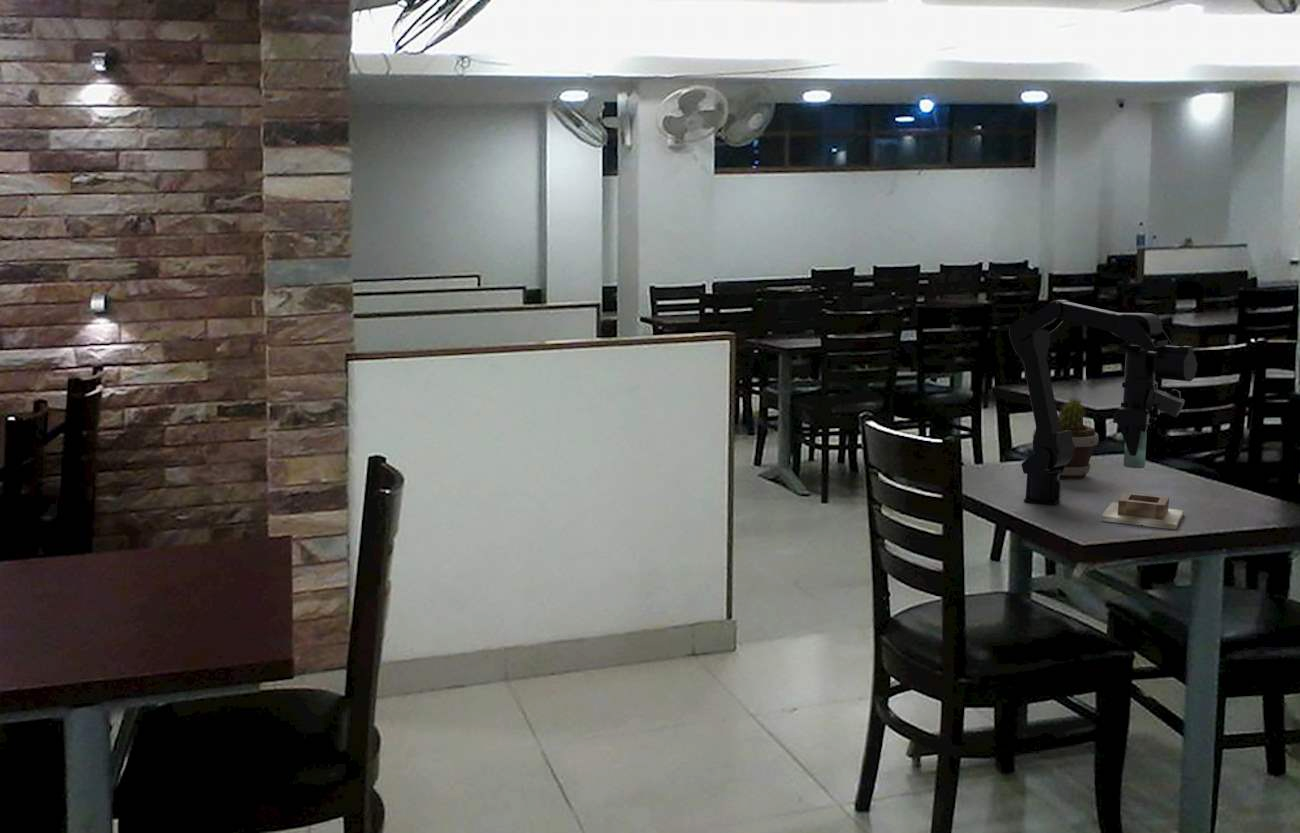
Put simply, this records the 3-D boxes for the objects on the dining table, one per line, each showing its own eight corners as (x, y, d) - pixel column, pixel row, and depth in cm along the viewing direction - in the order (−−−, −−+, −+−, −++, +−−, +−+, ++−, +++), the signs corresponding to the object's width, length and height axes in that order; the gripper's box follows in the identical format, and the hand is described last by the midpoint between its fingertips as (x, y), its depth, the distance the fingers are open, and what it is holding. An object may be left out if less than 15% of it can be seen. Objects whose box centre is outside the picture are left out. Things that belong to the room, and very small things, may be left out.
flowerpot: (1022, 469, 309) (1027, 386, 306) (1086, 470, 308) (1092, 387, 305) (1037, 481, 295) (1043, 395, 291) (1105, 483, 294) (1111, 396, 291)
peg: (1121, 466, 258) (1123, 432, 257) (1125, 463, 261) (1127, 429, 260) (1142, 468, 256) (1145, 434, 255) (1146, 465, 259) (1148, 431, 258)
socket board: (1101, 520, 258) (1102, 501, 257) (1111, 506, 270) (1113, 488, 270) (1175, 529, 252) (1177, 509, 251) (1183, 515, 264) (1184, 495, 263)
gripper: (1176, 384, 244) (1170, 465, 246) (1189, 374, 260) (1184, 450, 262) (1114, 380, 249) (1110, 459, 252) (1131, 371, 265) (1126, 445, 268)
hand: (1134, 453), depth 258 cm, fingers closed on peg, 4 cm apart
